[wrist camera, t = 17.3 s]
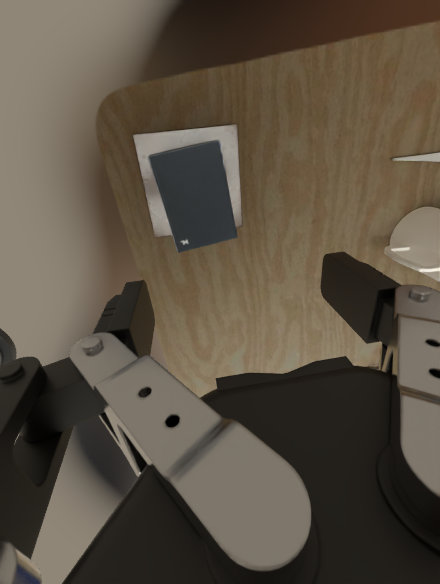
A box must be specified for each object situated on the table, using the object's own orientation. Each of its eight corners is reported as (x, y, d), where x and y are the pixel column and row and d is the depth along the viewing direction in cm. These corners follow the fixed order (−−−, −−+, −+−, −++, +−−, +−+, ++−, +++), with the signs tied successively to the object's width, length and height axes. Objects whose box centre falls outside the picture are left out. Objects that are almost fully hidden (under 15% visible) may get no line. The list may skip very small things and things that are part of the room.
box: (222, 213, 32) (239, 239, 23) (177, 224, 32) (175, 255, 23) (208, 140, 29) (221, 137, 19) (156, 152, 29) (144, 155, 19)
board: (155, 234, 34) (154, 237, 33) (134, 134, 29) (132, 134, 27) (240, 223, 35) (242, 226, 34) (235, 124, 29) (237, 123, 28)
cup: (369, 215, 37) (428, 237, 28) (451, 202, 37) (534, 219, 28) (360, 269, 41) (410, 303, 32) (435, 257, 41) (504, 287, 32)
